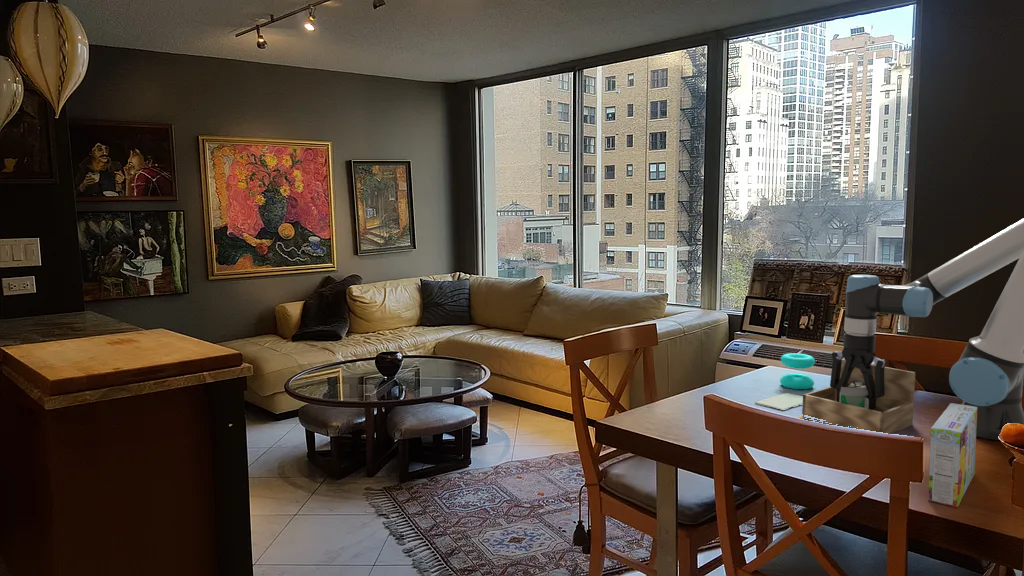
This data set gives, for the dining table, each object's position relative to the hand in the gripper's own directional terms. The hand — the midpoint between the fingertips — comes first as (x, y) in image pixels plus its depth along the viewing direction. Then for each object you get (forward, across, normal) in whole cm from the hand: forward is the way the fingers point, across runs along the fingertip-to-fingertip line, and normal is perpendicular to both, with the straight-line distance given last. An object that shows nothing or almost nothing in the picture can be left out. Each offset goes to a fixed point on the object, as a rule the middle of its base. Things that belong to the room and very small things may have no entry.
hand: (854, 417), depth 182 cm
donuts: (+1, +29, -19) cm, 34 cm away
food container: (+1, -1, 0) cm, 1 cm away
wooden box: (+1, 0, +3) cm, 3 cm away
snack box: (+1, -34, +27) cm, 44 cm away
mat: (+1, +21, 0) cm, 21 cm away
